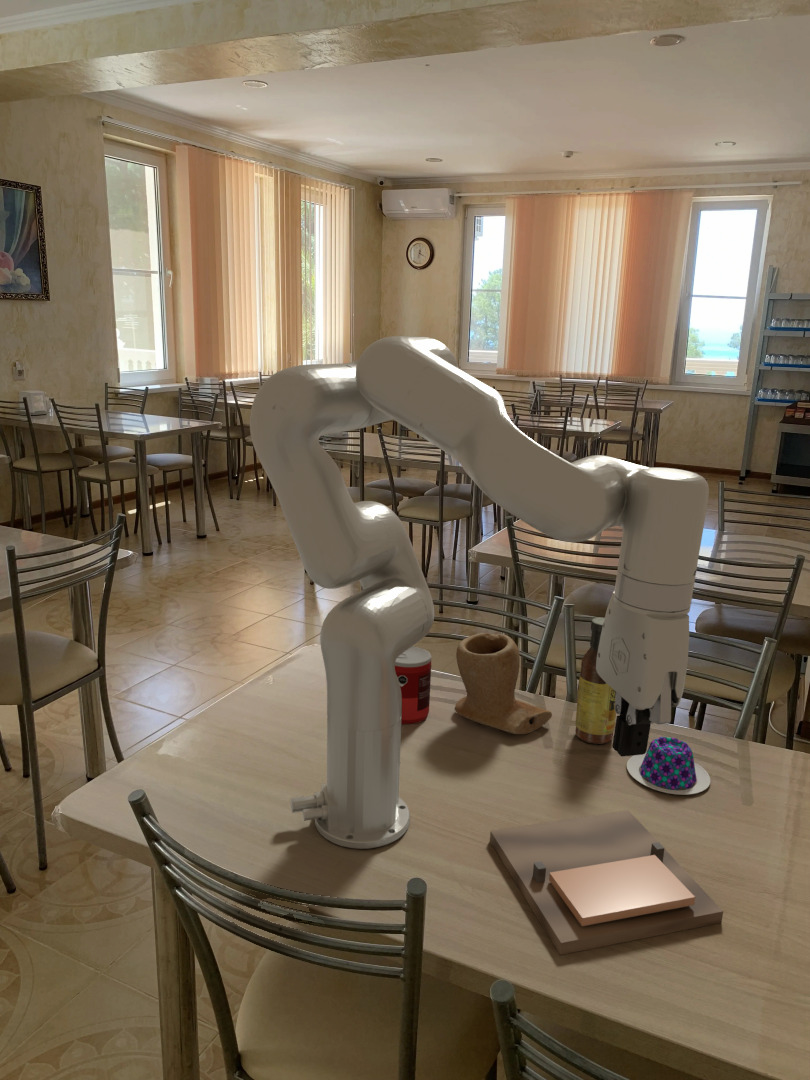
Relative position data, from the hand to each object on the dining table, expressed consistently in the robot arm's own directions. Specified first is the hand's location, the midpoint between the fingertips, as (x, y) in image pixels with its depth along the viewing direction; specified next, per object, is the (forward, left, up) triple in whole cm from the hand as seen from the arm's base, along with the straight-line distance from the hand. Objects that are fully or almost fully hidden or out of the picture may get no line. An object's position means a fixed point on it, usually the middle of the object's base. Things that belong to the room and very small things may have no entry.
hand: (628, 751), depth 86 cm
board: (+1, +5, -20) cm, 21 cm away
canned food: (-10, +51, -21) cm, 56 cm away
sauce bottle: (+18, +37, -21) cm, 46 cm away
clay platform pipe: (+4, +45, -21) cm, 50 cm away
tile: (+1, +1, -17) cm, 17 cm away
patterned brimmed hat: (+24, +24, -21) cm, 40 cm away
